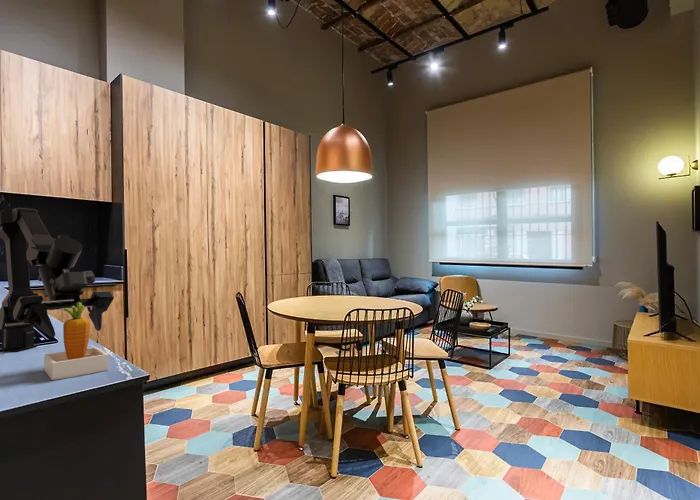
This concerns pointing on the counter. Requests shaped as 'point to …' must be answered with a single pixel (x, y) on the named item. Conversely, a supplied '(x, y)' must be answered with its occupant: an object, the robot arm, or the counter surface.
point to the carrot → (76, 333)
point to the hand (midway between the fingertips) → (77, 332)
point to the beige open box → (75, 364)
